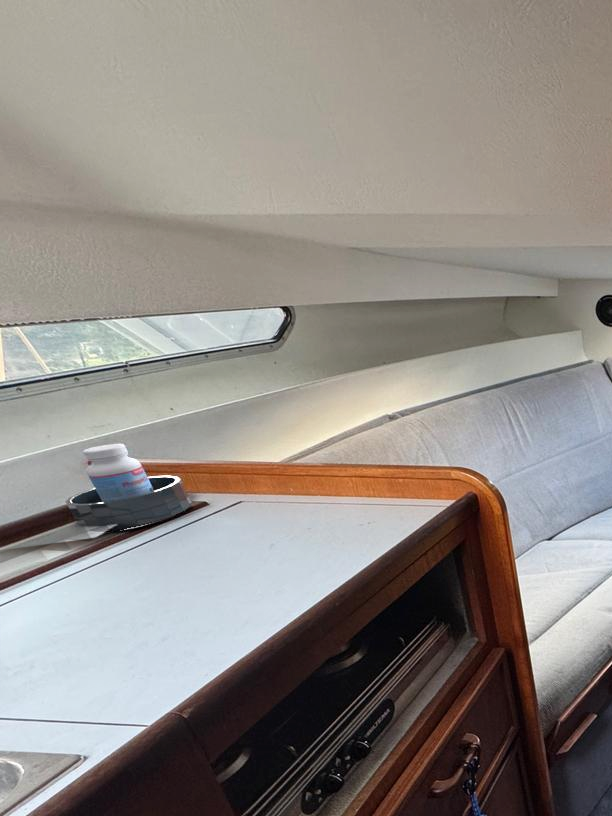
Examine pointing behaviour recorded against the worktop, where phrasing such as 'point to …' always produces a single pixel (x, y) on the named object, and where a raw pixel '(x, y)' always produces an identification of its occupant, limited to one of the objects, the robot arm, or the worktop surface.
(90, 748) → the worktop surface
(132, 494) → the pill bottle
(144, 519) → the bowl
